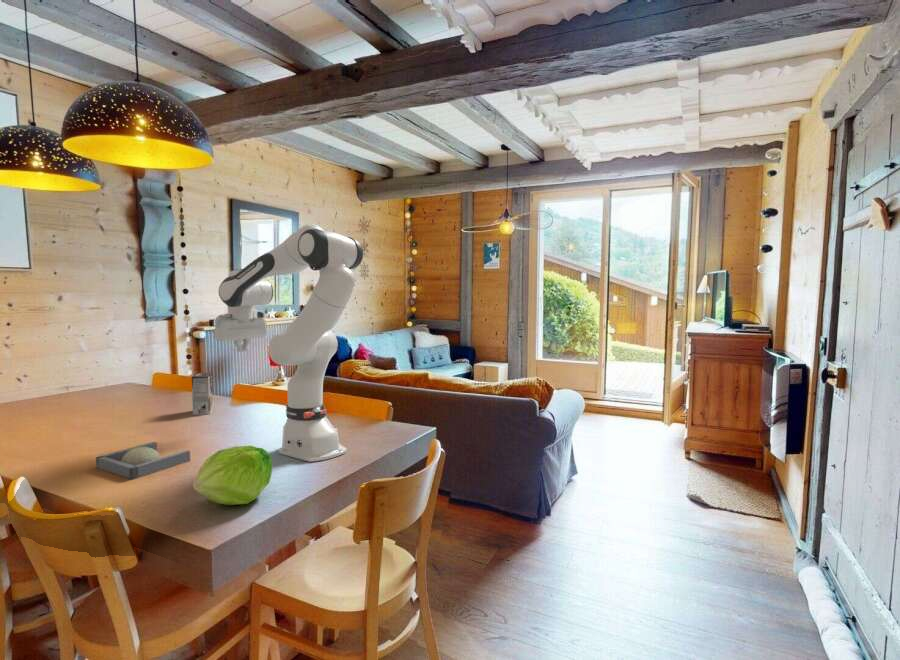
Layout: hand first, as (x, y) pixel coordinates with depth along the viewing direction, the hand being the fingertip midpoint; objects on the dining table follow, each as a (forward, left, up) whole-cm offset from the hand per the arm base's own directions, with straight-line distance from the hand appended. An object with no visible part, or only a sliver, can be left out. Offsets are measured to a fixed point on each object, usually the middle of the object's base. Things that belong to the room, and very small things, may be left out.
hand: (241, 351), depth 174 cm
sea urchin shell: (-15, +37, -30) cm, 50 cm away
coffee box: (+36, +1, -29) cm, 46 cm away
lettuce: (-59, +29, -29) cm, 72 cm away
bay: (-15, +36, -29) cm, 49 cm away
